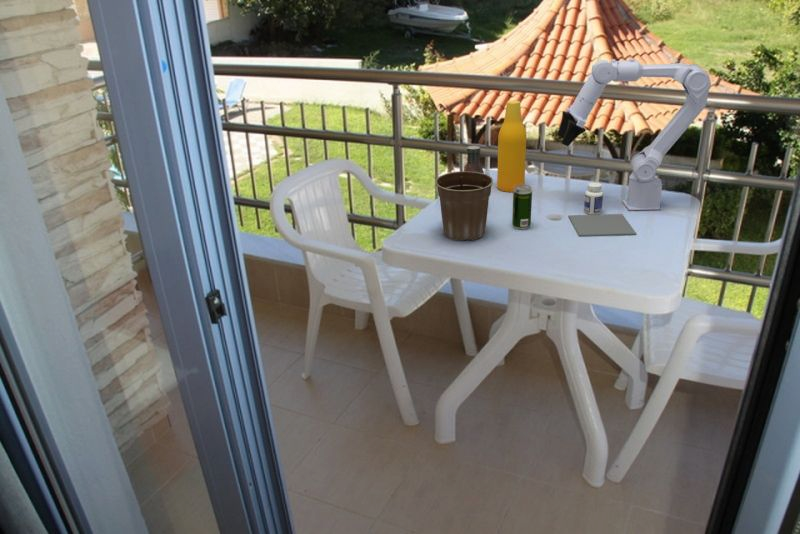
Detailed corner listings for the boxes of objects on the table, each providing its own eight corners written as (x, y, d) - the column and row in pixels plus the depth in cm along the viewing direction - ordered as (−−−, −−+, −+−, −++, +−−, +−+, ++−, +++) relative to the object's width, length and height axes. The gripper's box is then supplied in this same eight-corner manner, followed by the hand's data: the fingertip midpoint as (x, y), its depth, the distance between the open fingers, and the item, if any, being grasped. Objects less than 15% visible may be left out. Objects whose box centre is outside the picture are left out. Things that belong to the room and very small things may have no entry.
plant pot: (476, 248, 189) (477, 193, 182) (425, 238, 197) (424, 184, 190) (501, 228, 201) (503, 175, 194) (452, 219, 209) (452, 168, 202)
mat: (622, 215, 207) (622, 213, 206) (636, 235, 193) (636, 233, 193) (568, 216, 207) (568, 215, 207) (578, 236, 194) (579, 234, 193)
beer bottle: (496, 183, 237) (498, 99, 224) (523, 183, 236) (527, 98, 224) (497, 192, 229) (499, 105, 216) (525, 192, 228) (529, 104, 215)
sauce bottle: (482, 213, 212) (483, 150, 204) (462, 212, 214) (462, 150, 205) (483, 205, 218) (484, 144, 210) (464, 205, 219) (464, 144, 211)
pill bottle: (602, 209, 211) (604, 182, 208) (600, 215, 207) (603, 187, 203) (584, 208, 213) (586, 181, 209) (582, 214, 209) (585, 186, 205)
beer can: (534, 228, 200) (535, 189, 195) (517, 231, 199) (519, 191, 194) (524, 221, 205) (526, 183, 200) (508, 224, 203) (510, 186, 198)
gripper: (569, 87, 207) (547, 127, 214) (579, 101, 195) (554, 143, 201) (590, 97, 209) (566, 136, 215) (600, 111, 196) (575, 152, 202)
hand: (562, 140), depth 208 cm, fingers open, 7 cm apart
